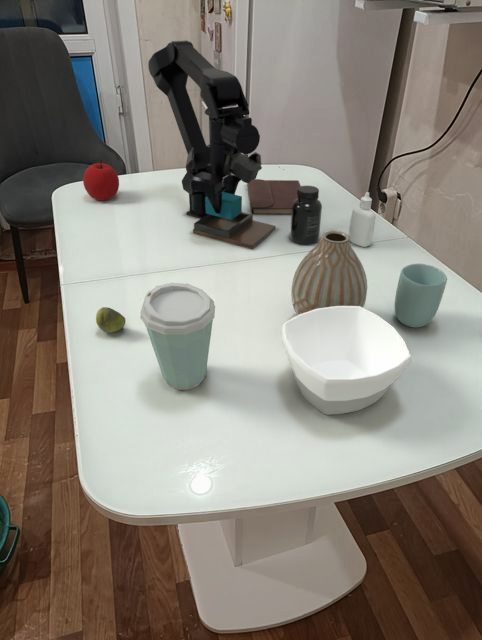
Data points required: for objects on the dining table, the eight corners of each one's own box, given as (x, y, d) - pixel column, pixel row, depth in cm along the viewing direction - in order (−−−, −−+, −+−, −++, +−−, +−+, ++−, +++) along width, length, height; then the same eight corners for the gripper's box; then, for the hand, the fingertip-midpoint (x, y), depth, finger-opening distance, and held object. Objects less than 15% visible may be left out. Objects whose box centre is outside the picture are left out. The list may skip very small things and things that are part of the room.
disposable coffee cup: (226, 362, 84) (224, 284, 75) (205, 407, 76) (201, 326, 67) (165, 352, 86) (156, 274, 76) (139, 394, 78) (125, 313, 68)
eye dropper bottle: (363, 236, 123) (371, 187, 115) (372, 247, 118) (381, 197, 111) (346, 237, 122) (353, 188, 114) (354, 248, 118) (362, 198, 110)
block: (231, 220, 118) (231, 203, 116) (205, 213, 121) (205, 197, 118) (241, 212, 122) (241, 196, 119) (216, 206, 124) (216, 190, 122)
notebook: (298, 185, 147) (299, 179, 146) (309, 214, 132) (309, 207, 130) (246, 185, 146) (247, 178, 145) (251, 214, 131) (251, 207, 129)
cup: (409, 337, 91) (422, 289, 85) (382, 315, 97) (392, 268, 90) (442, 326, 94) (456, 279, 88) (414, 305, 100) (426, 259, 93)
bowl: (313, 442, 71) (320, 393, 65) (262, 365, 84) (264, 318, 78) (417, 408, 77) (432, 361, 71) (355, 341, 90) (363, 296, 84)
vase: (305, 297, 101) (313, 213, 90) (369, 315, 96) (386, 229, 85) (277, 332, 91) (282, 242, 80) (346, 354, 87) (362, 262, 76)
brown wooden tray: (193, 233, 121) (192, 223, 119) (219, 215, 130) (218, 205, 128) (252, 249, 116) (252, 239, 114) (275, 229, 124) (276, 219, 123)
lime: (96, 326, 91) (92, 303, 88) (124, 321, 92) (120, 298, 89) (100, 341, 88) (95, 317, 84) (128, 335, 89) (125, 311, 86)
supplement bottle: (318, 233, 123) (324, 184, 116) (318, 246, 118) (324, 196, 110) (290, 231, 124) (294, 182, 116) (288, 244, 118) (292, 193, 111)
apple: (89, 190, 139) (82, 153, 133) (123, 190, 140) (117, 153, 134) (83, 204, 132) (76, 165, 126) (119, 204, 133) (113, 165, 127)
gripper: (233, 159, 102) (233, 232, 111) (274, 136, 115) (271, 202, 124) (186, 149, 105) (190, 220, 115) (231, 128, 118) (231, 193, 128)
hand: (223, 209), depth 121 cm, fingers closed on block, 5 cm apart
